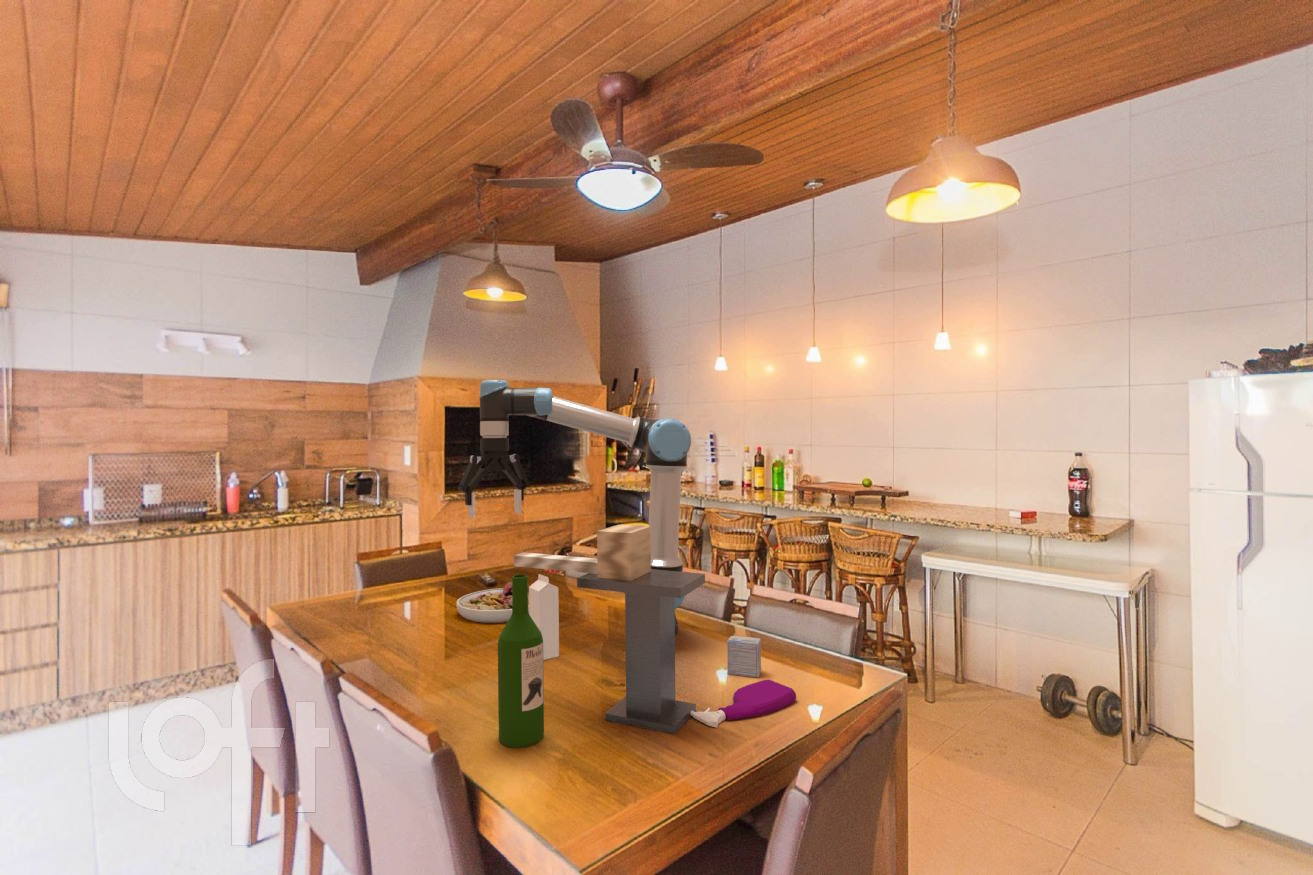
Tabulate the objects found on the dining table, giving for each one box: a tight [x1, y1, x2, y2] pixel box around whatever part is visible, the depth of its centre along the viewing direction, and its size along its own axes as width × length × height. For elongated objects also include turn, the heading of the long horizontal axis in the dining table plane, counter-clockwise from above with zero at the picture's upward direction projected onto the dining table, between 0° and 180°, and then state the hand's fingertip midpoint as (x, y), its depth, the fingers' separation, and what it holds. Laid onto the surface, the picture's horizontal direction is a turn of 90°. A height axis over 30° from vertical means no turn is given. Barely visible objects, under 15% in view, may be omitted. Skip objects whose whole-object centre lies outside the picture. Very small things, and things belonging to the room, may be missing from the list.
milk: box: [528, 573, 560, 661], centre depth 177 cm, size 6×6×22 cm
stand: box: [576, 569, 706, 735], centre depth 141 cm, size 24×14×30 cm, turn 66°
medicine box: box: [726, 635, 762, 678], centre depth 164 cm, size 8×4×9 cm, turn 71°
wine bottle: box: [497, 574, 545, 749], centre depth 130 cm, size 9×9×32 cm
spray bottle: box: [690, 679, 797, 729], centre depth 143 cm, size 3×11×24 cm
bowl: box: [456, 581, 530, 624], centre depth 221 cm, size 30×30×8 cm
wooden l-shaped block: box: [513, 524, 651, 581], centre depth 147 cm, size 32×10×10 cm, turn 66°
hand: (495, 515), depth 177 cm, fingers open, 13 cm apart
